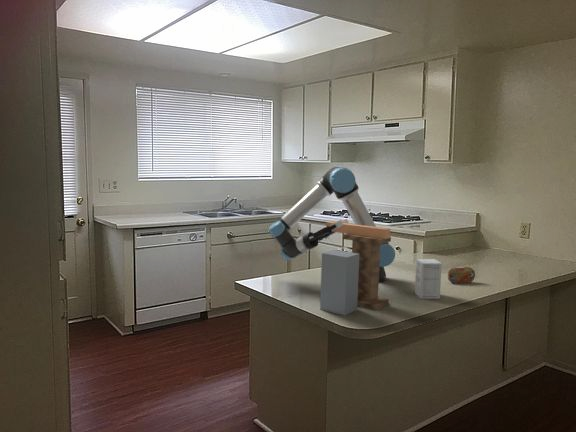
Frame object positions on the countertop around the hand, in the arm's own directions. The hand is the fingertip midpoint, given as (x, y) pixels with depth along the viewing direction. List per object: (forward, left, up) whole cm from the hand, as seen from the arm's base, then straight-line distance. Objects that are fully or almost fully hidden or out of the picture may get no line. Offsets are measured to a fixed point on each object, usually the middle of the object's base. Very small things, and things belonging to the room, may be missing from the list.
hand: (344, 222), depth 217 cm
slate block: (+15, -10, -35) cm, 39 cm away
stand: (+10, +6, -35) cm, 36 cm away
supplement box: (+10, +40, -35) cm, 54 cm away
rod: (+6, +3, -5) cm, 8 cm away
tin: (-5, +73, -35) cm, 81 cm away
